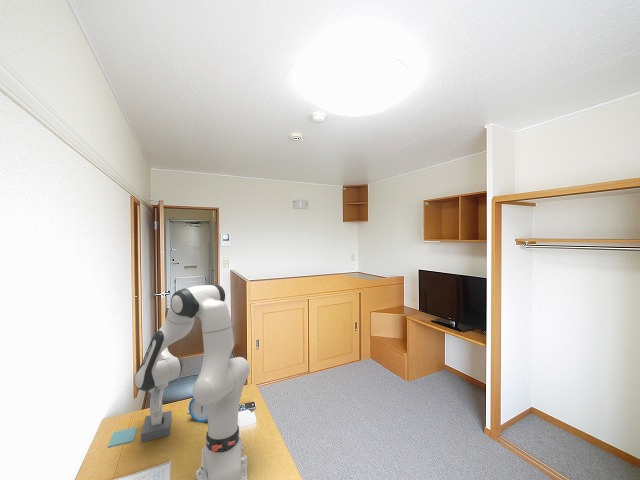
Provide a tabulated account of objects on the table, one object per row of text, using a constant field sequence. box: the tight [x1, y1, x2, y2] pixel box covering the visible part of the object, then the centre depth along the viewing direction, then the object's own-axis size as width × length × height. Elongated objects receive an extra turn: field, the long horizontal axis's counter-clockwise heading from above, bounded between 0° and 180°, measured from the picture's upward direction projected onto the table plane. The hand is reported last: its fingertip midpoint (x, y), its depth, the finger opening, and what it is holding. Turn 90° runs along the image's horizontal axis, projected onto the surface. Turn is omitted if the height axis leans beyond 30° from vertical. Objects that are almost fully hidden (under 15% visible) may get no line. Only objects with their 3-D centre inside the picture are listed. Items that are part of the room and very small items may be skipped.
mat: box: [107, 426, 138, 449], centre depth 123 cm, size 10×9×1 cm
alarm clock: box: [188, 396, 212, 423], centre depth 137 cm, size 13×6×15 cm, turn 83°
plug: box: [150, 401, 163, 426], centre depth 128 cm, size 4×4×12 cm
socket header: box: [140, 410, 173, 443], centre depth 128 cm, size 14×11×4 cm
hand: (156, 412), depth 128 cm, fingers closed on plug, 4 cm apart
